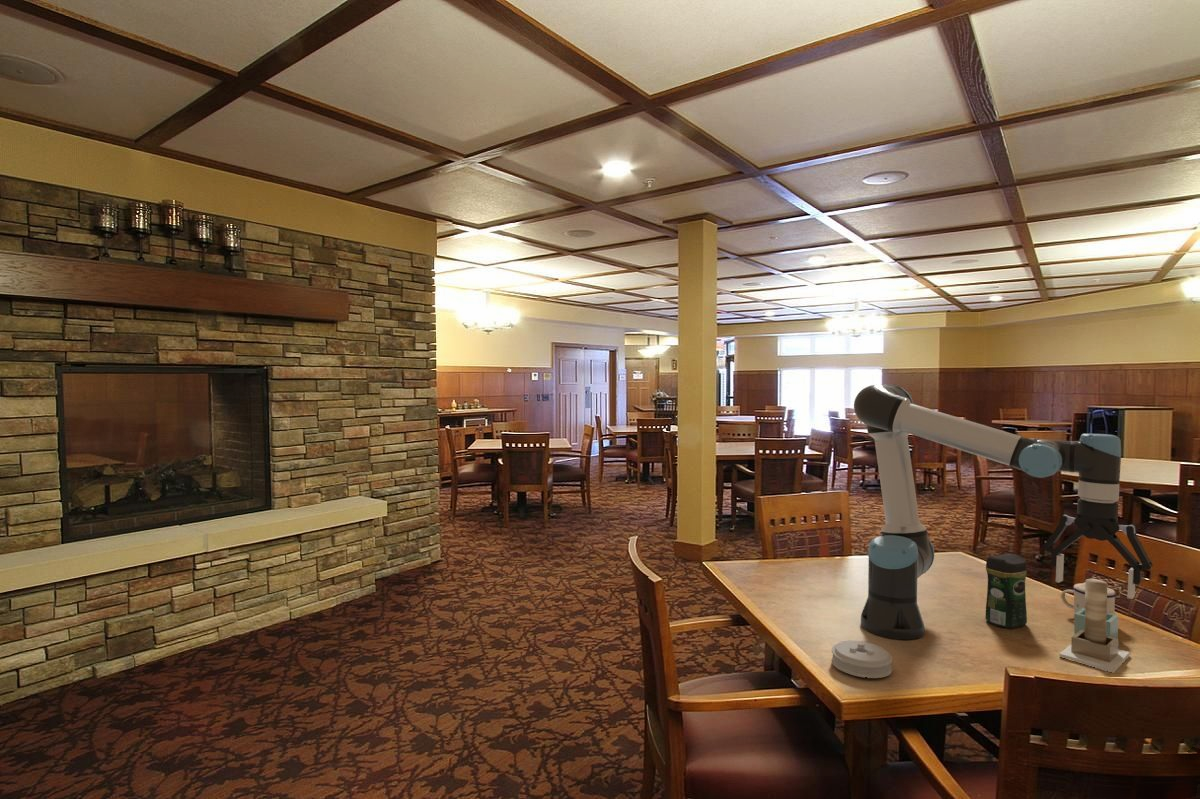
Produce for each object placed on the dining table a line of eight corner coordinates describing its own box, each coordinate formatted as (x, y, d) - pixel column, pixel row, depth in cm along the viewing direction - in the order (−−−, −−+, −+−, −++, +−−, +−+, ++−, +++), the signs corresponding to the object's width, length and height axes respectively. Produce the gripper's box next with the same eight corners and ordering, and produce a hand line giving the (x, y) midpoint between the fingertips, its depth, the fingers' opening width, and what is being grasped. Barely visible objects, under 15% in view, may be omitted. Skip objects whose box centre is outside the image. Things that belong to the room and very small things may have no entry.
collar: (1109, 662, 141) (1110, 647, 141) (1071, 651, 147) (1071, 637, 147) (1118, 654, 146) (1118, 639, 145) (1080, 643, 151) (1080, 629, 151)
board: (1113, 673, 138) (1113, 668, 138) (1059, 657, 146) (1059, 653, 146) (1129, 656, 147) (1129, 652, 147) (1077, 642, 154) (1077, 638, 154)
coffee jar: (1002, 615, 173) (1004, 549, 172) (1032, 625, 165) (1033, 556, 165) (979, 620, 169) (980, 553, 168) (1007, 631, 162) (1009, 560, 161)
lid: (870, 655, 148) (871, 634, 147) (904, 680, 135) (904, 657, 135) (821, 658, 146) (821, 637, 146) (850, 684, 133) (850, 661, 133)
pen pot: (1109, 646, 152) (1110, 622, 152) (1074, 637, 158) (1074, 613, 158) (1117, 639, 157) (1118, 615, 156) (1082, 630, 162) (1083, 607, 162)
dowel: (1103, 658, 143) (1104, 585, 143) (1081, 652, 146) (1083, 581, 146) (1107, 653, 146) (1109, 582, 145) (1086, 647, 149) (1088, 577, 149)
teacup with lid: (1120, 623, 167) (1121, 580, 167) (1108, 631, 162) (1109, 587, 161) (1067, 610, 177) (1067, 569, 176) (1054, 617, 171) (1055, 575, 171)
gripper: (1172, 507, 138) (1167, 601, 139) (1040, 490, 157) (1037, 572, 158) (1165, 511, 133) (1160, 608, 134) (1030, 493, 153) (1026, 577, 154)
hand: (1093, 589), depth 146 cm, fingers open, 13 cm apart
